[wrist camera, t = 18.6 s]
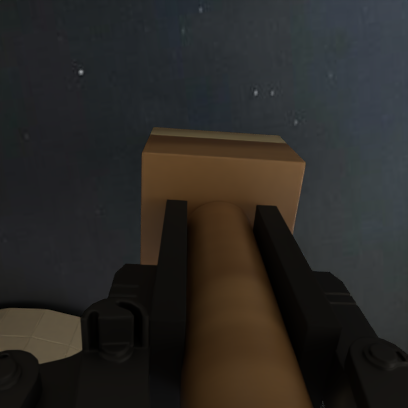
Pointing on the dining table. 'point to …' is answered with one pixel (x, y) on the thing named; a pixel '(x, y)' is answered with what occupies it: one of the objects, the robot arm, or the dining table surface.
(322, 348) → the robot arm
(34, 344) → the bowl
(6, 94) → the dining table surface
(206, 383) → the brown wooden stamp
